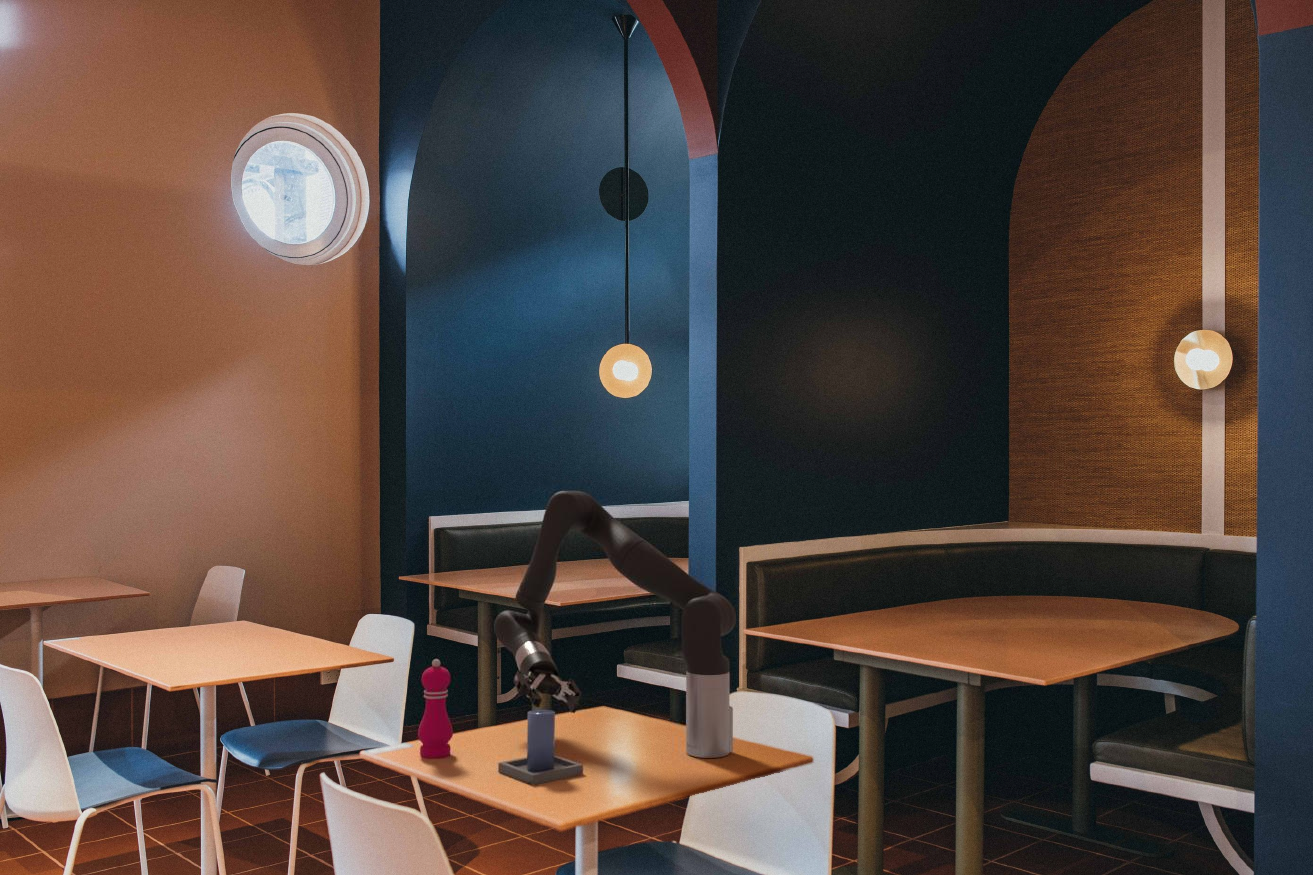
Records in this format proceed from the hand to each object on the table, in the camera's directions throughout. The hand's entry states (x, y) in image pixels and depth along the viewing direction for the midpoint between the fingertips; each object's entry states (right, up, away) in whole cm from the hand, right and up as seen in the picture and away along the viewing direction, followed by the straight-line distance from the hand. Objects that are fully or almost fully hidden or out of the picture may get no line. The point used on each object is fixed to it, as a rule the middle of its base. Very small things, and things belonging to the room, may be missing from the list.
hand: (557, 706), depth 227 cm
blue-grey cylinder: (-2, -9, -13) cm, 16 cm away
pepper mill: (-26, -11, +1) cm, 28 cm away
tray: (-2, -10, -13) cm, 17 cm away
